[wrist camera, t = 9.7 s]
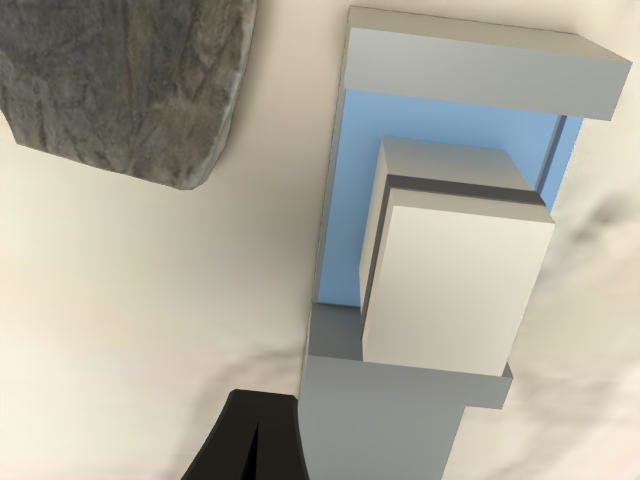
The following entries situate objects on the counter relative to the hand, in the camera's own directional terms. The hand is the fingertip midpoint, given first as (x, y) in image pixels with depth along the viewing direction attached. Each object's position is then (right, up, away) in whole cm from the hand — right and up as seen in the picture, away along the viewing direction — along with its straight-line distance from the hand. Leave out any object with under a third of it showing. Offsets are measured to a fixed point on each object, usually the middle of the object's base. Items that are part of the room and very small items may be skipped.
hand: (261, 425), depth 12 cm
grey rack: (+4, +1, +11) cm, 12 cm away
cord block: (+5, +5, +7) cm, 10 cm away
